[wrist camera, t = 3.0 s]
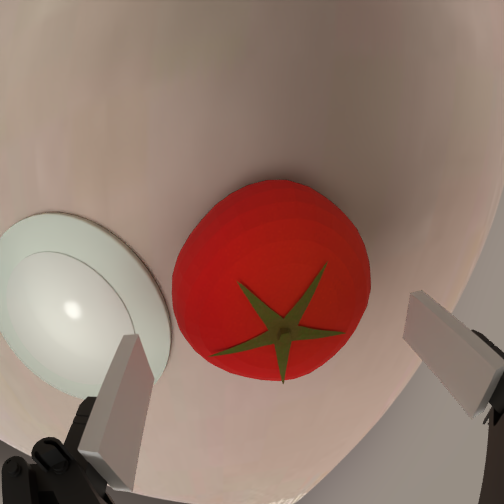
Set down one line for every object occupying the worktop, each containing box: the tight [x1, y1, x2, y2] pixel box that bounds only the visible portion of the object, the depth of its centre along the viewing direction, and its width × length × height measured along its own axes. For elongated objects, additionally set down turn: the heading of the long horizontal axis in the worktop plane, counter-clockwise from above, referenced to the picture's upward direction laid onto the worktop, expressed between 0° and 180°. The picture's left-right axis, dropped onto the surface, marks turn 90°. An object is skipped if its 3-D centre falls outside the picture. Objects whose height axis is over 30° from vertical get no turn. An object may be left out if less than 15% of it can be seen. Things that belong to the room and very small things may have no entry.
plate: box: [0, 212, 171, 400], centre depth 23 cm, size 20×20×1 cm
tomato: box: [172, 180, 371, 384], centre depth 18 cm, size 11×12×10 cm
